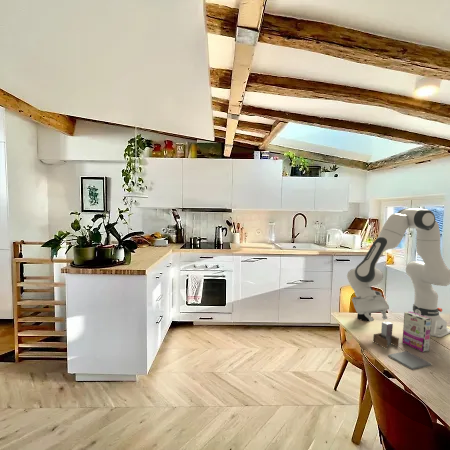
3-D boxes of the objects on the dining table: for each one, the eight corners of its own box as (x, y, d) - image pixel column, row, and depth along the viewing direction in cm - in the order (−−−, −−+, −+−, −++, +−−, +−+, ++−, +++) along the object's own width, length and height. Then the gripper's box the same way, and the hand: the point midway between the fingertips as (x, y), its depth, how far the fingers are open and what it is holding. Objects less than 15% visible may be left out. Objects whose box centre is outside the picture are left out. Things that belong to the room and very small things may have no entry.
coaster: (406, 352, 146) (406, 350, 146) (431, 365, 134) (431, 363, 134) (388, 356, 141) (388, 354, 141) (412, 369, 130) (412, 368, 130)
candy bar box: (429, 351, 148) (432, 318, 147) (423, 352, 146) (425, 319, 145) (408, 341, 158) (410, 310, 157) (401, 342, 156) (403, 311, 155)
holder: (385, 339, 159) (386, 332, 159) (398, 345, 152) (398, 338, 152) (373, 341, 156) (373, 334, 156) (385, 348, 149) (385, 340, 149)
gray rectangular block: (386, 342, 156) (387, 321, 156) (391, 344, 154) (392, 323, 153) (380, 343, 155) (381, 322, 154) (385, 345, 152) (387, 324, 151)
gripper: (354, 294, 160) (367, 319, 152) (382, 292, 168) (397, 315, 159) (347, 300, 165) (360, 324, 157) (375, 297, 172) (389, 320, 164)
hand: (379, 319), depth 158 cm, fingers open, 8 cm apart
